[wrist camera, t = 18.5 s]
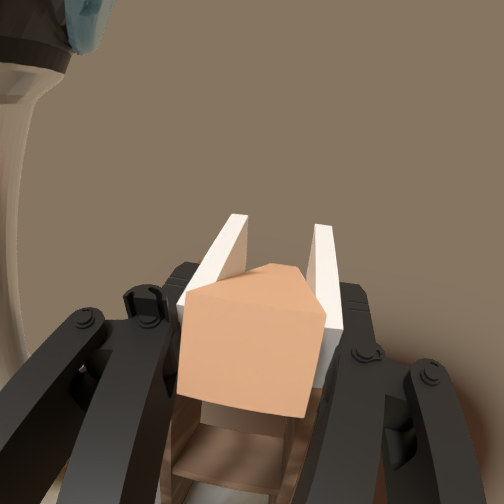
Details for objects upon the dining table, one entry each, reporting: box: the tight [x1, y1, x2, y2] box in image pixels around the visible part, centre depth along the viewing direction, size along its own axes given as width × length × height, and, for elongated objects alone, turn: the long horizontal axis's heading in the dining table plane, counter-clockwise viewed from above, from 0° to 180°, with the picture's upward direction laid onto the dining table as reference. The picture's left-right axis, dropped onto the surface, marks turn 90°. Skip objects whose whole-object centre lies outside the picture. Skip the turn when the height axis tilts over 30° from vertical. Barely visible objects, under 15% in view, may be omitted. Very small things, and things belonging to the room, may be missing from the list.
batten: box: [177, 263, 327, 418], centre depth 20 cm, size 28×3×2 cm, turn 173°
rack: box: [160, 259, 323, 504], centre depth 33 cm, size 16×14×38 cm
